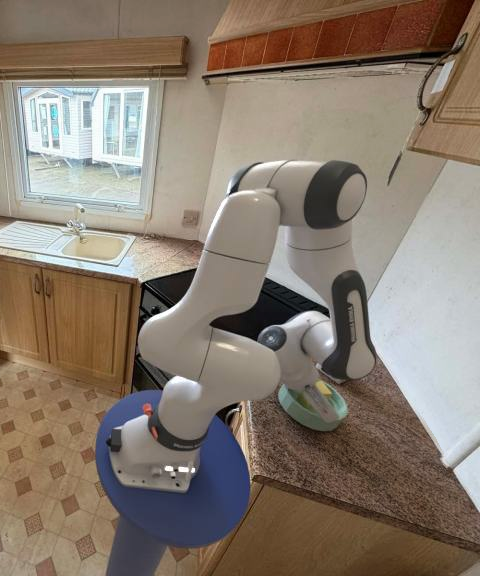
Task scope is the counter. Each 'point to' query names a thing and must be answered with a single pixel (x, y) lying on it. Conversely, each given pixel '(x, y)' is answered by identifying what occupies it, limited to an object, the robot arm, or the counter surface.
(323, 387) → the butter
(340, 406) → the bowl
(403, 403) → the counter surface
